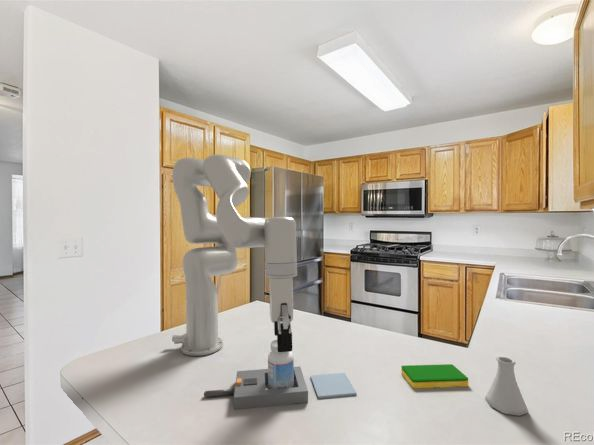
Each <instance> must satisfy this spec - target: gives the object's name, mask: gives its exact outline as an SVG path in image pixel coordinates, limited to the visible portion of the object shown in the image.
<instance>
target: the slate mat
mask: <svg viewBox="0 0 594 445" xmlns="http://www.w3.org/2000/svg"><path fill="white" fill-rule="evenodd" d="M310 380H311V382H312V385H313V388H314V390H315V394H316V397H317V399H327V398H338V397H348V396H349V397H351V396H357V394H358V393H357V392H356V390H355V388H354V386H353V385H352V383H351V381H350V379H349V378H348V376H347V374H346V373H345V372H336V373H335V372H334V373H325V374H324V373H323V374H312V375H311V374H310Z"/></svg>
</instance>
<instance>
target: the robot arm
mask: <svg viewBox="0 0 594 445" xmlns="http://www.w3.org/2000/svg"><path fill="white" fill-rule="evenodd" d="M251 173H252V172H251V168H250V165H249V164H248V162H247V161H246V160H244V159H242V158H239V157H234V156H228V155H224V154H211V155H208V156H207V157H206V158H205V159H202V158H201V159H200V158H197V157H196V158H195V157H183V158H180V159H178V160H177V161H176V162H175V163H174V165H173V168H172V174H171V175H172V184H173V189H174V192H175V194H176V197H177V199H178V202H179V207H180V215H181V216H180V217H181V222H182V230H183V235H184V239H185V241H187V243H189V244H192V245H193V244H195V245H200V244H201V245H204V244H215V246H206V247H205V246H204V247H196V248H191V249H190V250H187V252H185V254H184V255H183V257H182V269H183V274H184V279H185V293H186V294H185V298H186V299H185V302H186V303H185V305H186V308H185V310H186V312H185V313H186V314H185V316H186V318H185V319H186V321H185V322H186V326H185V327H186V328H185V329H186V330H185V331H186V333H183V334H174V335H172V336H171V337H172V338H171V342H172V343H173V342H174V345H176V344H177V345H179V344H181V345H180V352H181V353H182V354H183V355H186V356H191V357H199V356H200V357H202V356H207V355H211V354H213V353H216V352H218V351H219V350H221V349H222V348H223V345H224V340H223V339H222V338H220V337H219V317H218V316H219V307H218V306H219V303H218V302H219V293H218V287H217V285H216V284H215V283H214V281H213V280H212V277H217V276H223V275H229V274H232V273H234V272H235V270H236V269H237V267H238V252H237V249H251V248H264V270H265V271H264V272H265V273H264V274H265V275H264V276H265V277H266V278H269V284H268V285H269V291H268V293H269V295H268V297H269V316H270V317H269V318H270V322H272V323H273V326H274V330H273V331H274V336H276V338H277V339H276V340H277V348H278V352H289V351H291V352H292V351H293V332H292V325H291V323H292V322H293V320H294V285H293V284H294V282H293V279H294V277H297V276H298V259H297V258H298V256H297V248H298V247H297V222H296V220H295V219H294V218H293V217H289V216H275V217H274V216H273V217H258V216H256V217H255V216H254V217H253V216H252V217H251V216H249V217H248V216H243V217H242V216H241V215H240V214H239V213H238V211H237V210H236V208H237V207H239V206H240V205H242V204H243V203H244V202H245V201H246V200H247V198H248V196H249V193H250V189H249V186H248V183H249V181H250V178H251V175H252V174H251ZM198 186H199V187H208V188H209V187H210V188H212V190H213V191H214V193H215V194H216V196H217V198H218V203H217V205H216V214H211V213H210V211H209V206H208V205H209V204H208V200H207V198H206V197H205V195H204V194H203V193H202V191H201V190H200V189H199V188H198Z"/></svg>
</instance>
